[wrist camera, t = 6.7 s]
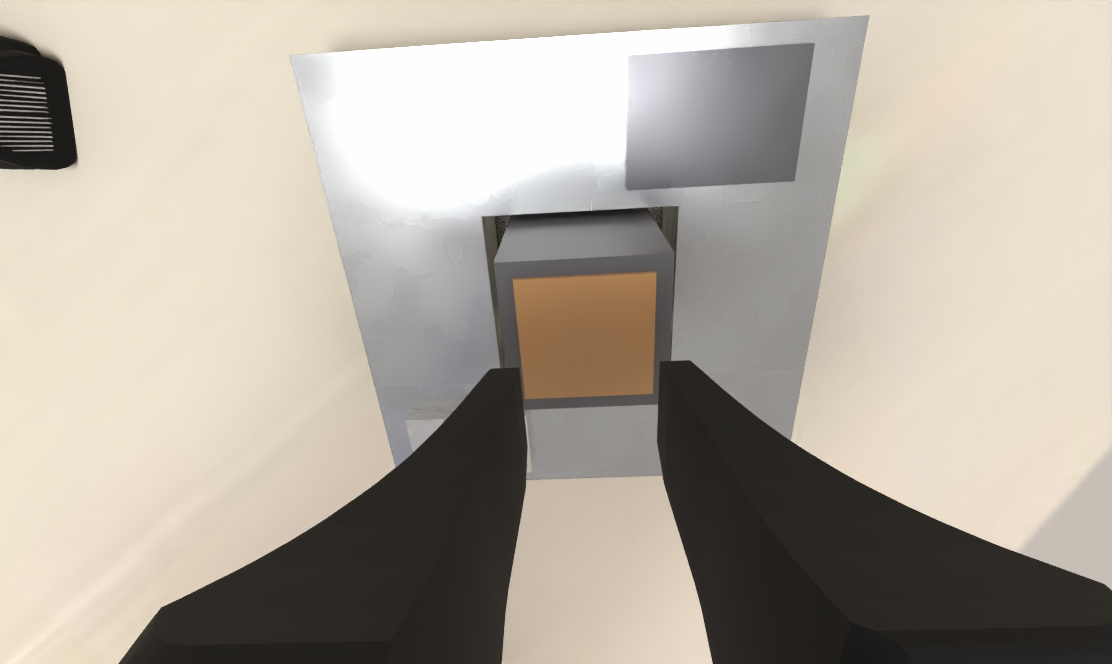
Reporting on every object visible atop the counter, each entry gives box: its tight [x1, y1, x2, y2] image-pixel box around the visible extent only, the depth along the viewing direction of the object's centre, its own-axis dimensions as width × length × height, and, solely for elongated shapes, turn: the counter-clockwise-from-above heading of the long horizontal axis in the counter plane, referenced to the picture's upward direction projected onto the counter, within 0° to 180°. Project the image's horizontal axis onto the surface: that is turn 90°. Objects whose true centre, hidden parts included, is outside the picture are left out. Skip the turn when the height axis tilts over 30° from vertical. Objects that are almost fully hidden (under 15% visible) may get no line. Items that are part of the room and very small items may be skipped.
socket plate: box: [289, 15, 869, 480], centre depth 16 cm, size 14×14×3 cm
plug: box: [494, 207, 675, 410], centre depth 15 cm, size 4×4×6 cm
